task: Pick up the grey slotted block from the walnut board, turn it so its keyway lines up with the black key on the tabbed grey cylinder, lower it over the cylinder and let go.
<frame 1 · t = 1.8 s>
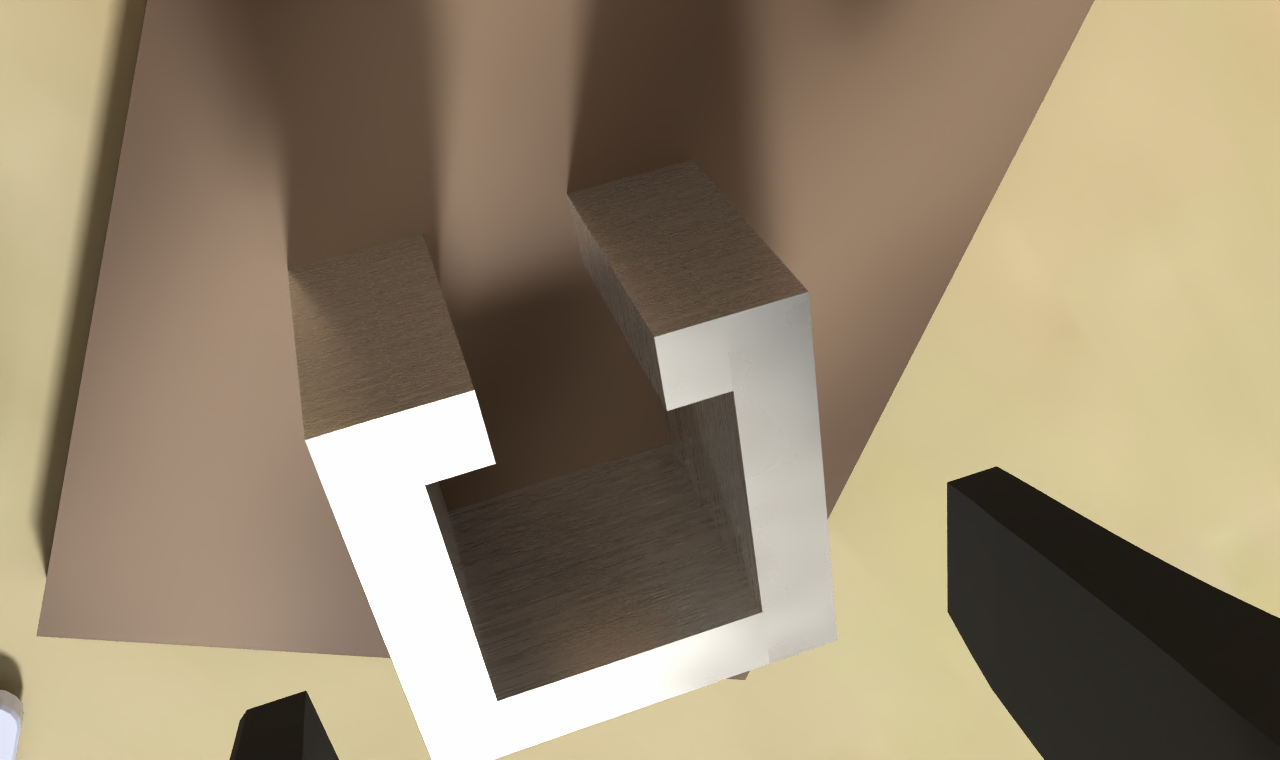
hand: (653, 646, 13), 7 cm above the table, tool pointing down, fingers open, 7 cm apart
grey slotted block: (537, 382, 17), point 1 cm above the table, touching base board
base board: (629, 32, 16), on the table
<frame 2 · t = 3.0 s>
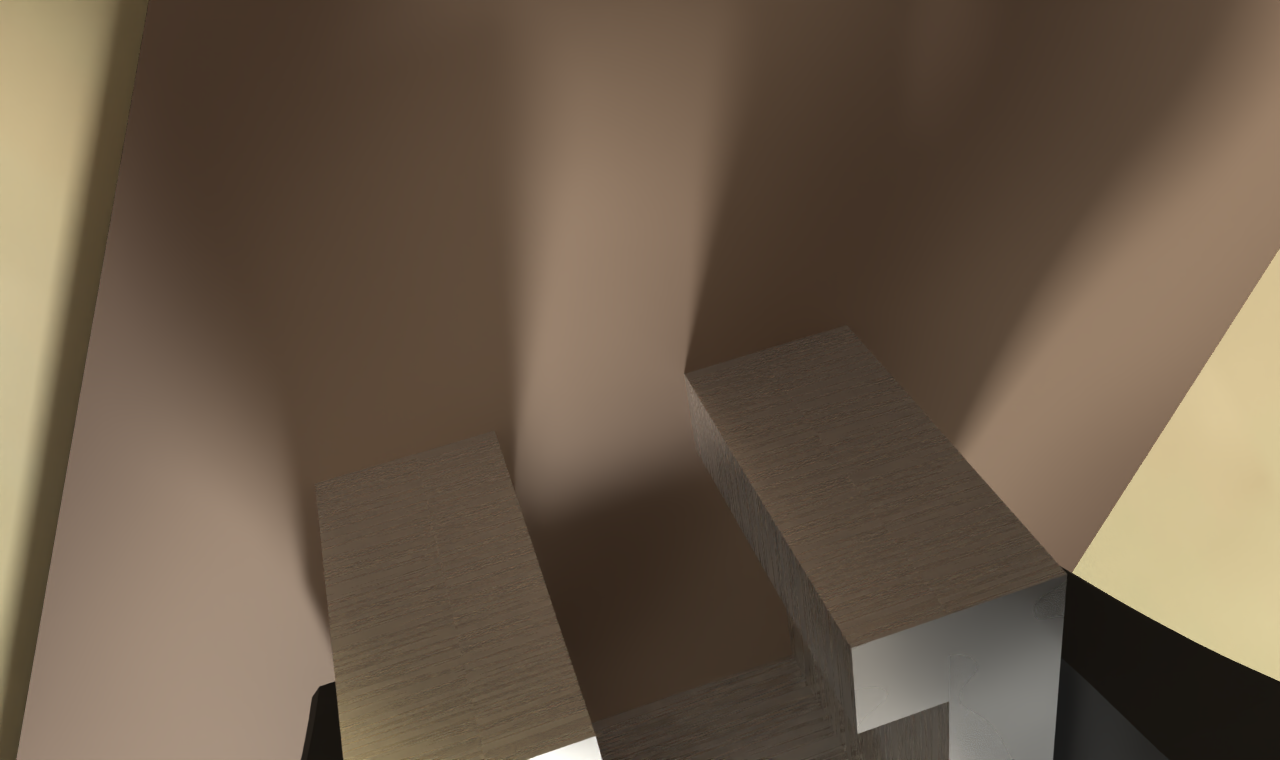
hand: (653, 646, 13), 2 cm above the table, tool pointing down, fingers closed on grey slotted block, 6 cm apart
grey slotted block: (633, 597, 13), point 1 cm above the table, touching base board, gripper
base board: (764, 156, 12), on the table
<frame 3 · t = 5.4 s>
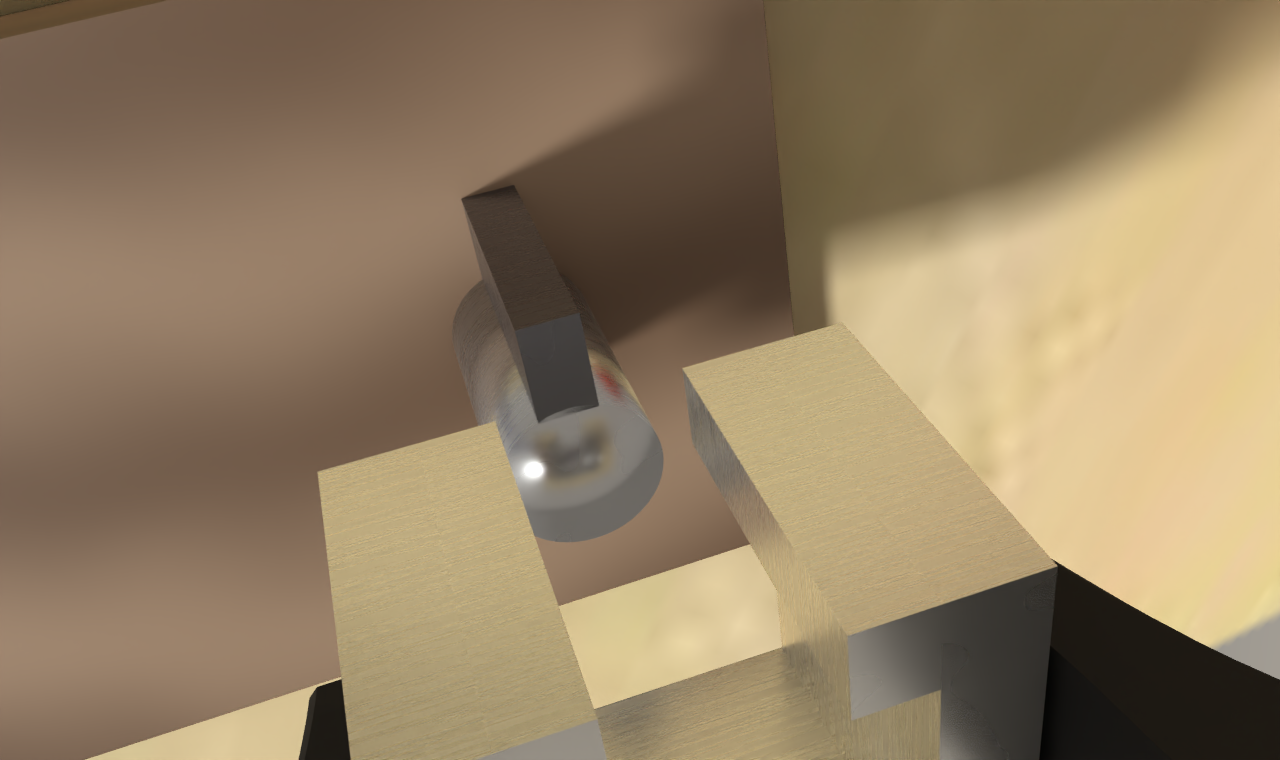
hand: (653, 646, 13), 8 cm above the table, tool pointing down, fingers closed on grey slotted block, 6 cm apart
grey slotted block: (627, 588, 14), point 7 cm above the table, touching gripper
tabbed grey cylinder: (521, 328, 19), resting on base board
base board: (141, 396, 19), on the table
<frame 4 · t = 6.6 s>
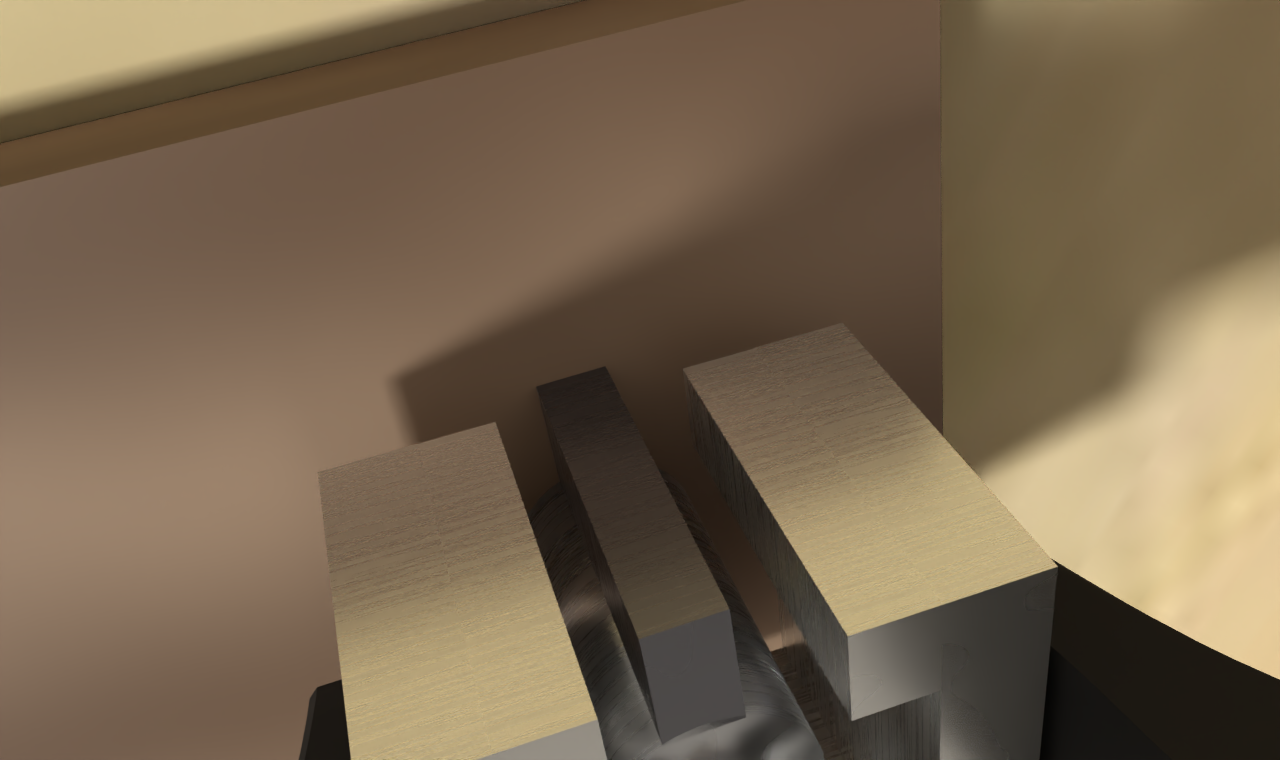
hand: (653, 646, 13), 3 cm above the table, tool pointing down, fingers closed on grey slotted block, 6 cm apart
grey slotted block: (627, 589, 14), point 2 cm above the table, touching gripper
tabbed grey cylinder: (607, 535, 14), resting on base board
base board: (114, 623, 14), on the table
when the fingers open (3 cm above the table, at t = 7.6 s): grey slotted block stays where it is, resting on base board.
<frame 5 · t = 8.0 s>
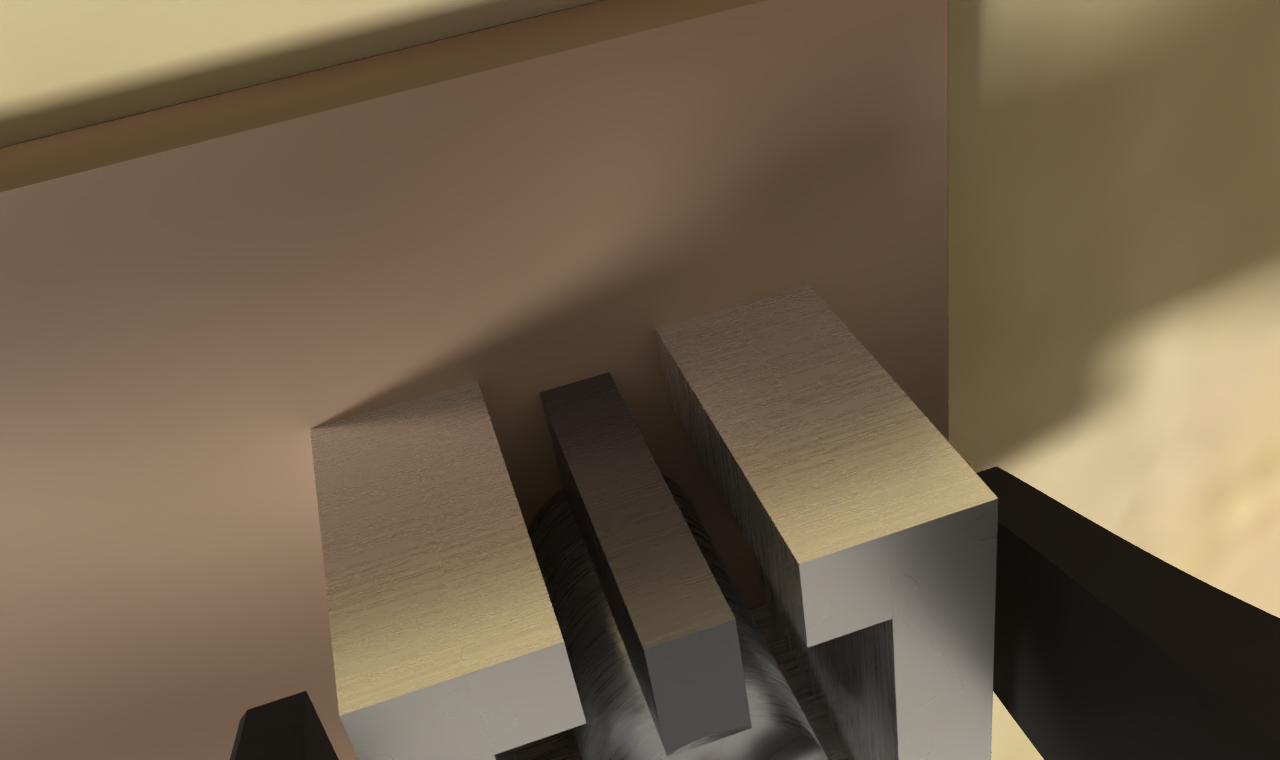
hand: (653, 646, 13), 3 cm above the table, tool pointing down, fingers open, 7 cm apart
grey slotted block: (610, 543, 14), point 1 cm above the table, touching base board
tabbed grey cylinder: (610, 542, 14), resting on base board
base board: (114, 630, 14), on the table
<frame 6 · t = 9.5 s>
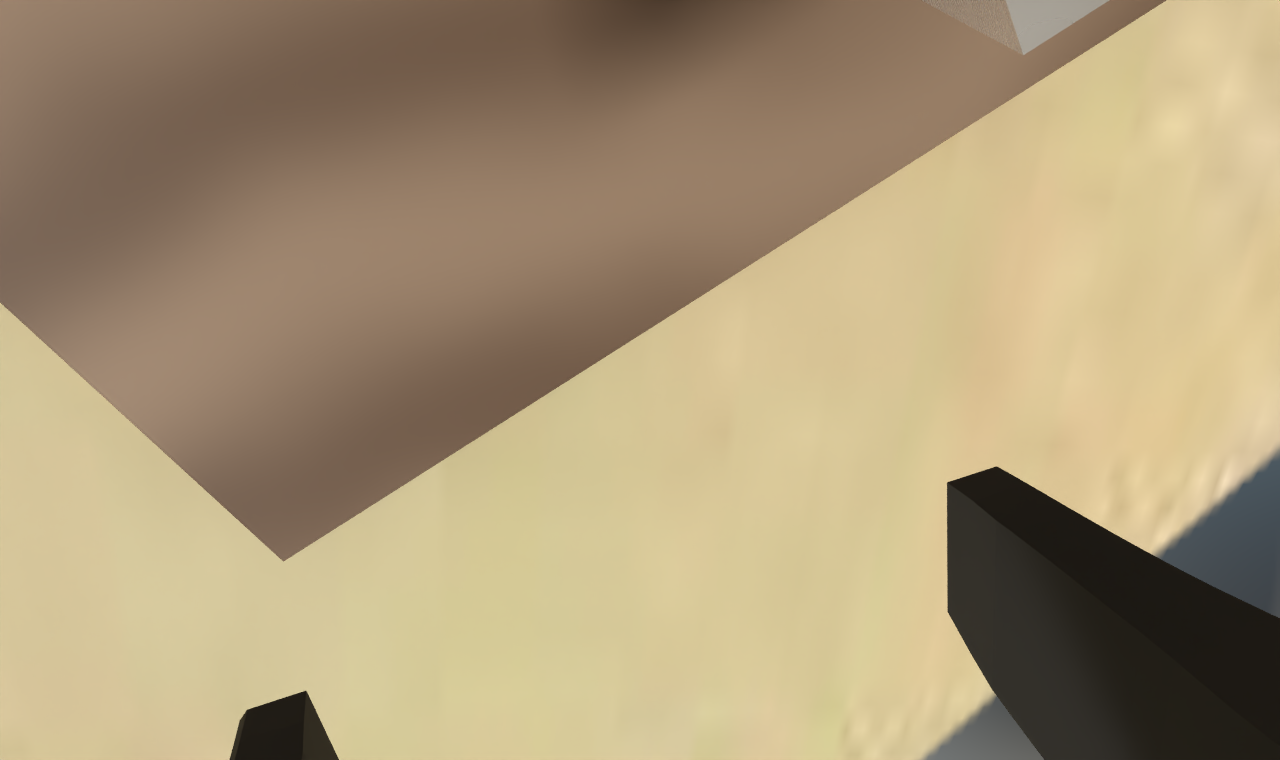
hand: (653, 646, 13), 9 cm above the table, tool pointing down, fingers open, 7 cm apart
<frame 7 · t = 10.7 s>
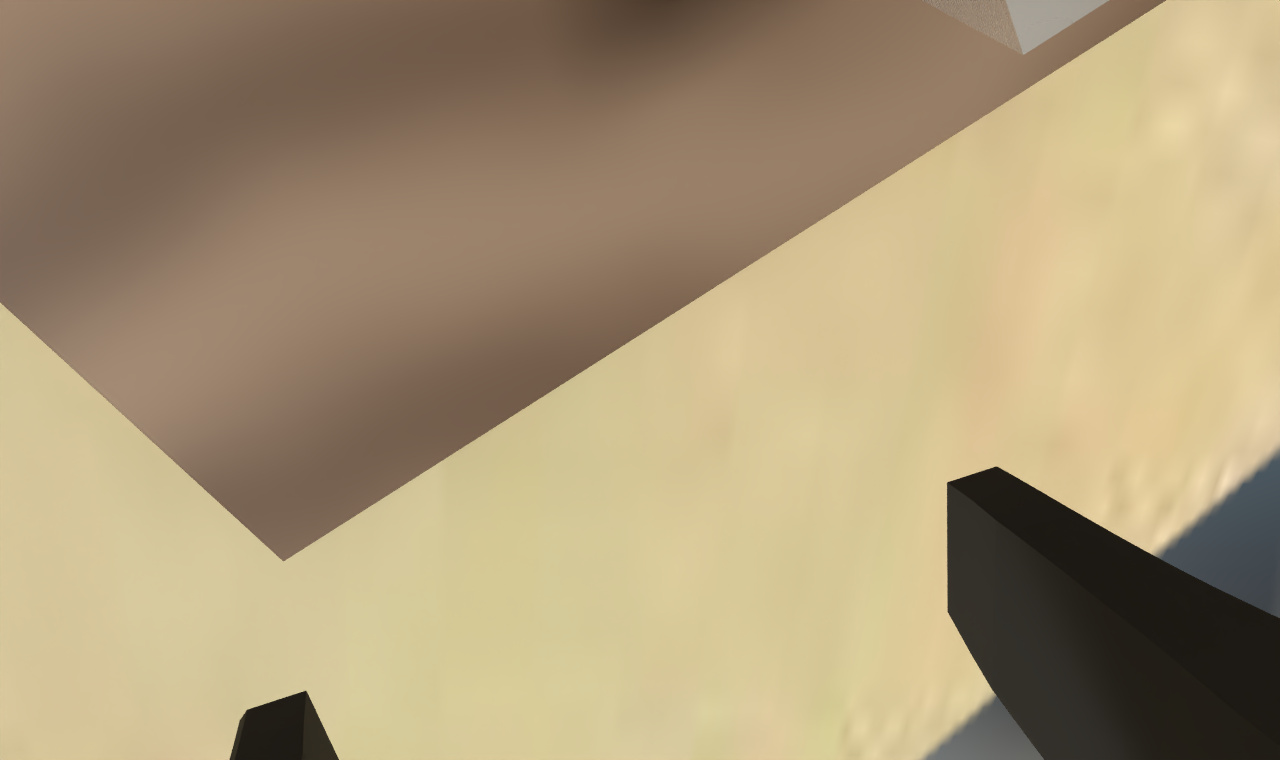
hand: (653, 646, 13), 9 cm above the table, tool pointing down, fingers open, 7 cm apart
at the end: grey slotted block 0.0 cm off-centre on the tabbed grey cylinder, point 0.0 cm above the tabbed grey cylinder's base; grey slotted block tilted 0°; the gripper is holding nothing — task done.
